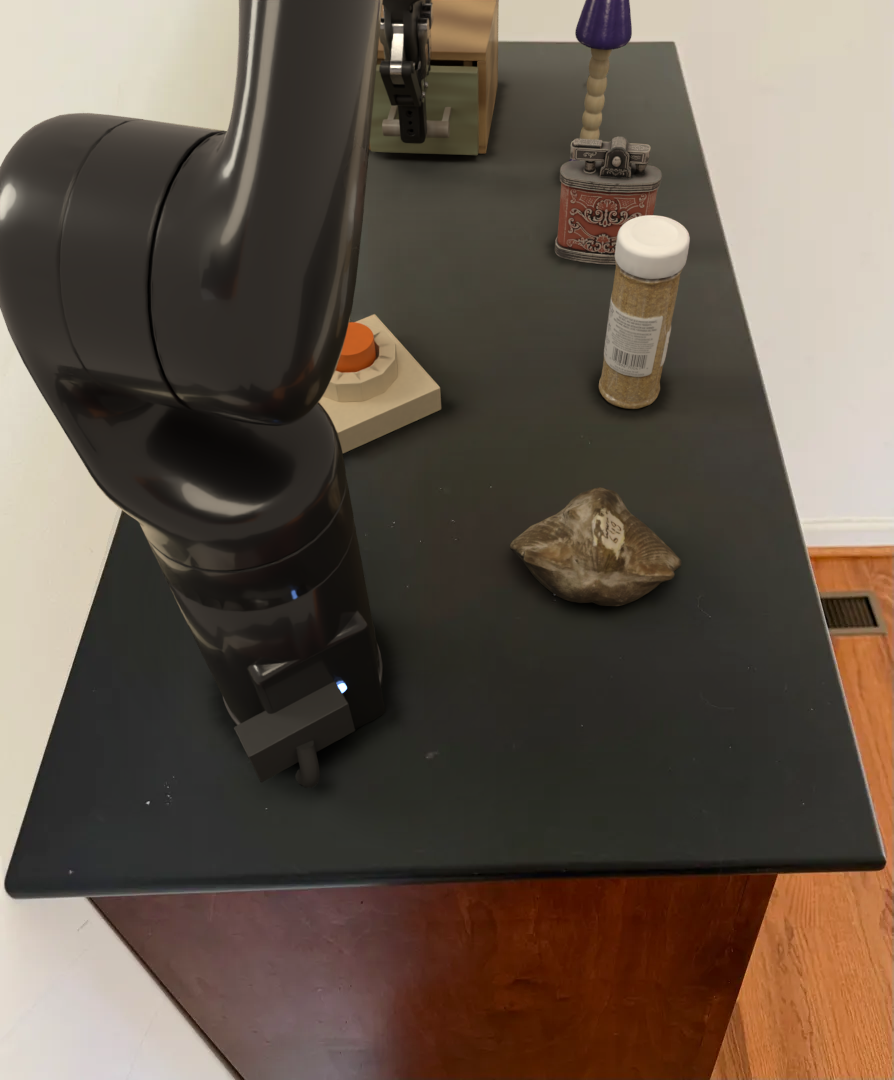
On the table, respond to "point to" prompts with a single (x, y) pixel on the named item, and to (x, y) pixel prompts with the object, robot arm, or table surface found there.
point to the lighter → (602, 196)
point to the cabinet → (468, 48)
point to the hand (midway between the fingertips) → (414, 138)
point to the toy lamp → (600, 53)
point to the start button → (357, 349)
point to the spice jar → (642, 308)
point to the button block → (380, 392)
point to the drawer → (433, 112)
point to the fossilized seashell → (596, 552)
